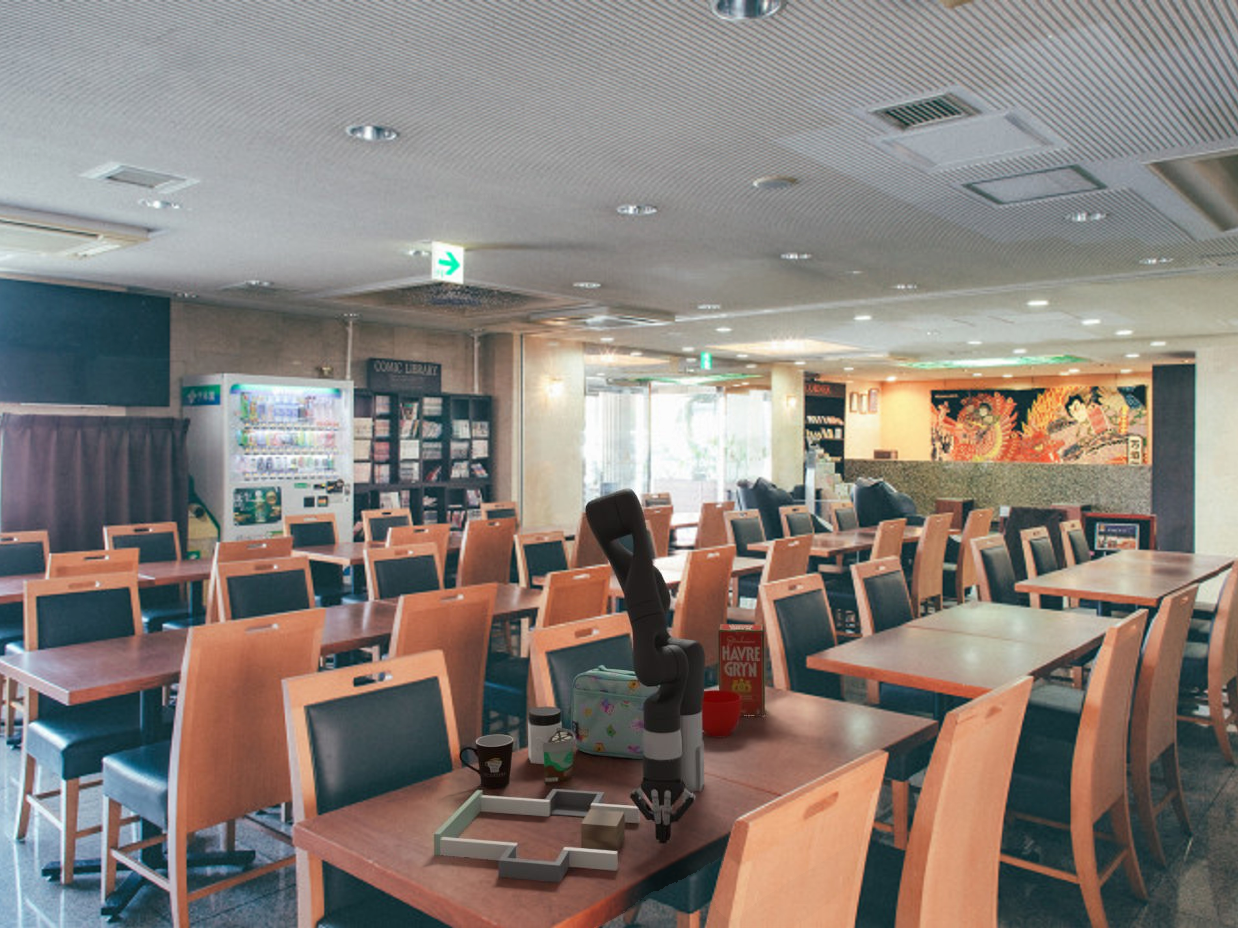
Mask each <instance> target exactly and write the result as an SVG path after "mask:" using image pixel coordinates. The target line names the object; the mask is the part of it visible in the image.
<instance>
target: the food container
mask: <svg viewBox="0 0 1238 928" xmlns="http://www.w3.org/2000/svg"><path fill="white" fill-rule="evenodd" d="M576 744H577V742H576V738H575V735H574V733H573V732H572V731H571V729H568V728H564V727H562V728H557V732H556V733H555V735H553V736H552V737H551V738H550V739H549V741H548V742H543V752H544V764H543V765H544V766H543V767H544V771H543V772H544V785H545V786H553V785H554V786H555V785H560V784H565V783H567V782H569V781H571V780H572V779H573V764H574V763H573V761H574V749H575V748H574V747H576V746H575V745H576Z"/></svg>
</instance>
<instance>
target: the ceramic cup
mask: <svg viewBox="0 0 1238 928" xmlns="http://www.w3.org/2000/svg"><path fill="white" fill-rule="evenodd" d="M740 713H741V696H740V695H739V694H737V693H734V692H729V691H721V690H719V689H718V690H717V689H716V690H712V689H711V690H704V696H703V702H702V732H703V733H704V734H705V735H706V736H708V737H711V736H712V738H713V737H714V738H725V737H727V736H730V735H731V733H732V732H733V731H734V730H735V729H736V727H737V725H738V723H739V721H740V717H741V716H740Z"/></svg>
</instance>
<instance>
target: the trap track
mask: <svg viewBox="0 0 1238 928" xmlns="http://www.w3.org/2000/svg"><path fill="white" fill-rule="evenodd" d="M590 809H592V810H606V811H620V812H624V815H625V823H631V824H639V823H640V810H639V809H638V807H637V806H636V805H628V804H627V805H626V804H624V805H623V804H612V803H609V804H608V803H605V792H604V791H594V790H593V791H590V790H574V789H561V788H559V789H558V788H552V789H551V791H550V792H549V793H548V795H547V796H546V798H544V799H543V798H541V799H540V798H528V797H512V796H499V795H498V796H497V795H484V794H483V790H482V789H481V790H480V789H477V790H475V792H474V793H473V794H472V795H471V796H470V797H469V798H468V799H467V800H466V801H465V802H464V803H463V804H462V805H461V806H460V807H458V809H456V811H455V812H454V813H453V814H452V815H450V817H449V818H448V819H447V820H446V821H445V822H444V823H443V824H442V825H440V827H439V828H438V829H437V830H436V831H435V832H434V833H433V855H434V856H441V855H444V856H445V857H453V856H455V858H464V857H470V858H469V859H476V858H477V860H478V859H480V860H487V859H488V860H489V861H497V864H498V866H497V867H498V869H497V870H498V871H497V872H498V876H499V877H498V878H505V877H507V878H508V879H517V880H530V881H539V882H540V881H541V882H550V883H561V881H562V880H563V878H564V877H565V875H566V873H567V871H568V870H569V868H570V867H571V868H580V869H581V868H582V869H583V868H584V869H593V870H594V869H595V870H604V871H605V870H606V871H614V872H615V871H618V868H619V858H618V857H619V856H618V853H619V850H618V851H608V850H596V849H584V848H581V847H571V846H564V847H563V848H562V850H561V851H560V854H559V855H558V856H557V858H556V860H555V861H551V860H550V861H548V860H535V859H525V858H519V844H518V842H511V841H510V842H509V841H497V840H486V839H485V840H484V839H474V838H473V839H472V838H460V837H459V836H460V835H461V834H462V832H464V830H465V829H466V828H467V827H468V826H469V825H470V824H471V823H472V822H473V821H474V820H475V818H476V817H477V816H478V815H479V814H480V813H481V812H484V813H496V814H497V813H499V814H510V815H511V814H512V815H526V816H537V817H550V816H551V815H552V816H564V817H577V818H585V817H586V815H587V813H588V812H589V810H590ZM549 815H550V816H549ZM458 837H459V838H458ZM446 855H447V856H446ZM444 856H443V857H444ZM457 856H458V857H457ZM507 878H506V879H507Z"/></svg>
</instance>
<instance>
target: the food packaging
mask: <svg viewBox="0 0 1238 928" xmlns="http://www.w3.org/2000/svg"><path fill="white" fill-rule="evenodd" d="M718 628H719V629H718V631H717V632H718V643H717V644H718V690H721V691H729V692H734V693H737V694H739V695H740V696H741V713H740V715H741V716H740V717H745V716H744V715H747V716H746V717H749V716H748V715H754V716H764V715H765V716H766V666H765V665H766V662H765V661H766V659H765V651H766V650H765V625H764V624H743V623H742V624H740V623H738V624H735V623H731V624H730V623H725V624H724V623H720V624H719V627H718Z"/></svg>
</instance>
